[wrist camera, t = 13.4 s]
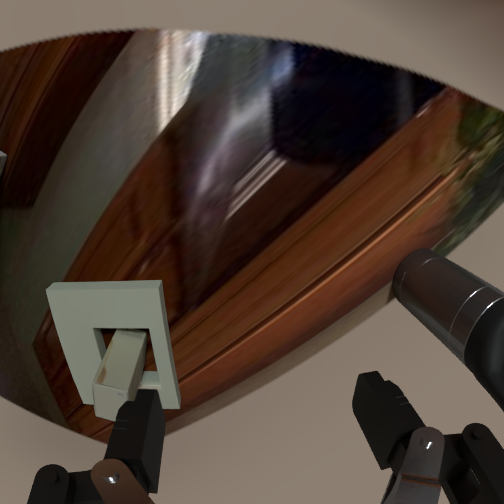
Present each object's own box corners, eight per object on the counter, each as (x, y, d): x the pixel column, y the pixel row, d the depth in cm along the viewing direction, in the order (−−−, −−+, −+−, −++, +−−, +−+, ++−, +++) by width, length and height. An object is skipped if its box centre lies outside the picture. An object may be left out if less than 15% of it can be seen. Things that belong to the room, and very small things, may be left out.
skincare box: (118, 323, 41) (90, 379, 29) (148, 330, 41) (128, 389, 30) (116, 360, 42) (94, 417, 31) (145, 366, 43) (128, 426, 31)
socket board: (161, 279, 39) (158, 288, 37) (180, 398, 45) (179, 409, 43) (53, 282, 38) (45, 290, 35) (87, 393, 44) (83, 404, 41)
